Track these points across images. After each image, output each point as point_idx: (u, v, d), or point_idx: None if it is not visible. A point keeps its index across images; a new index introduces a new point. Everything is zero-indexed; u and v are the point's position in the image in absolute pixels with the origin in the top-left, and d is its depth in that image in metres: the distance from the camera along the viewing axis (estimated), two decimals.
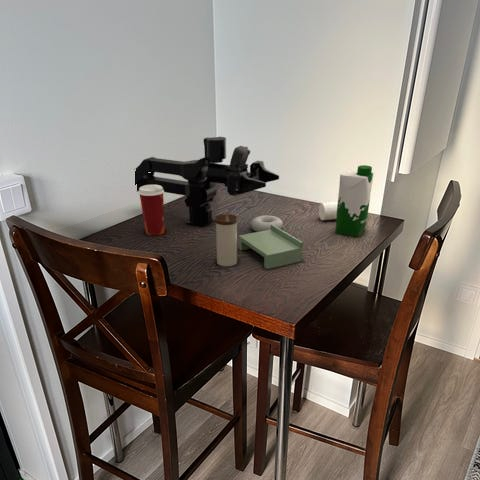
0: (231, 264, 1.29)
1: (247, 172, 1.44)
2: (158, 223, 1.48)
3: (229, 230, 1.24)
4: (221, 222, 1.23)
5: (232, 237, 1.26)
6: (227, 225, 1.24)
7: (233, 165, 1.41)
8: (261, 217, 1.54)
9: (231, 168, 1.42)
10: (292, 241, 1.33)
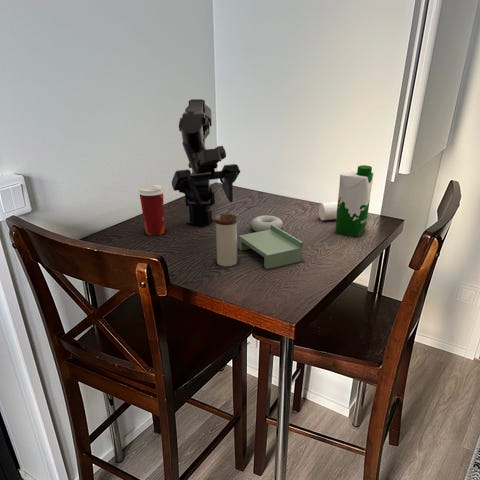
0: (231, 264, 1.29)
1: (209, 173, 1.32)
2: (158, 223, 1.48)
3: (229, 230, 1.24)
4: (221, 222, 1.23)
5: (232, 237, 1.26)
6: (227, 225, 1.24)
7: (197, 160, 1.29)
8: (261, 217, 1.54)
9: (195, 160, 1.30)
10: (292, 241, 1.33)
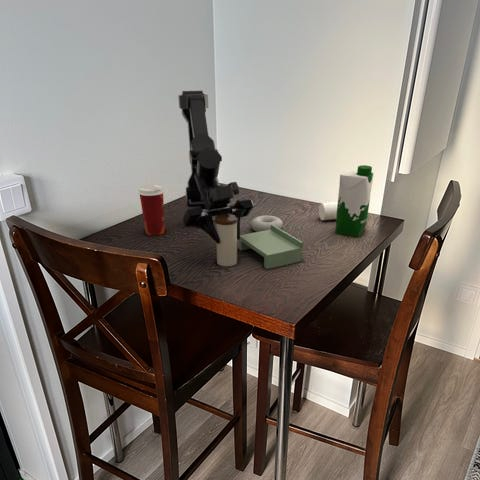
0: (231, 264, 1.29)
1: (228, 208, 1.29)
2: (158, 223, 1.48)
3: (229, 230, 1.24)
4: (221, 222, 1.23)
5: (232, 237, 1.26)
6: (227, 225, 1.24)
7: (209, 196, 1.25)
8: (261, 217, 1.54)
9: (207, 196, 1.26)
10: (292, 241, 1.33)
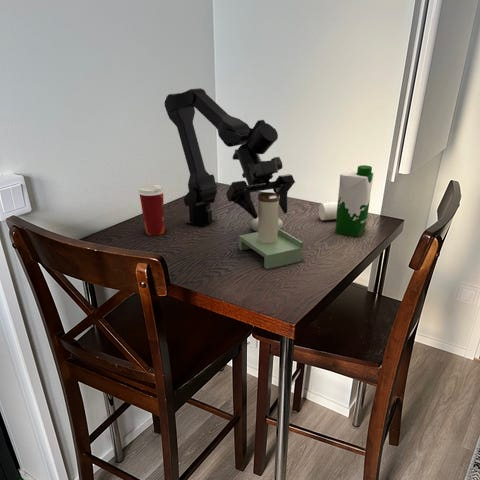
0: (272, 241, 1.33)
1: (264, 184, 1.30)
2: (158, 223, 1.48)
3: (272, 207, 1.27)
4: (265, 199, 1.26)
5: (275, 215, 1.29)
6: (270, 202, 1.27)
7: (253, 171, 1.28)
8: None
9: (250, 171, 1.28)
10: (292, 241, 1.33)
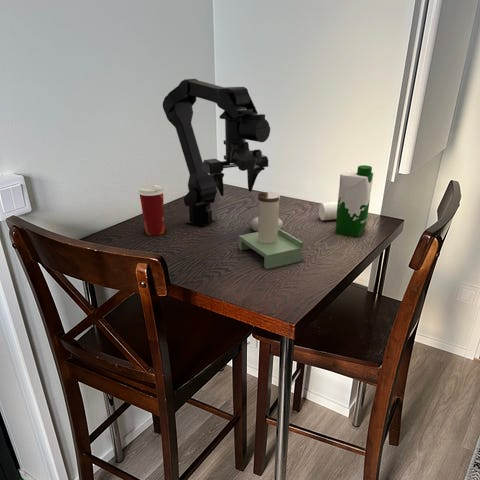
0: (272, 241, 1.33)
1: None
2: (158, 223, 1.48)
3: (272, 207, 1.27)
4: (265, 199, 1.26)
5: (275, 215, 1.29)
6: (270, 202, 1.27)
7: (233, 156, 1.33)
8: None
9: (231, 154, 1.33)
10: (292, 241, 1.33)
